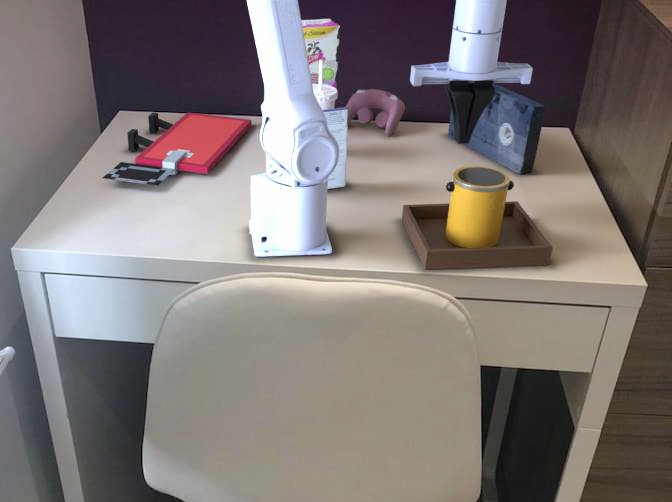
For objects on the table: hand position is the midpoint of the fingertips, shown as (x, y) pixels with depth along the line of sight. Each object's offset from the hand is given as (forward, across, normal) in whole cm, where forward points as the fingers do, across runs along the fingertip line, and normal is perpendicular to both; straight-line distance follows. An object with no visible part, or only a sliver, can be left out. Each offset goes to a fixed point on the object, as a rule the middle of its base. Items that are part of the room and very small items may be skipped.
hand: (461, 140), depth 106 cm
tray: (+10, 0, +9) cm, 13 cm away
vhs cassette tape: (+10, -11, -21) cm, 26 cm away
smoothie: (+10, +16, -23) cm, 29 cm away
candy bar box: (+10, +17, -35) cm, 40 cm away
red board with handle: (+10, +37, -24) cm, 45 cm away
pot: (+5, 0, +9) cm, 10 cm away
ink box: (+10, +19, -9) cm, 23 cm away
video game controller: (+10, +5, -34) cm, 36 cm away
